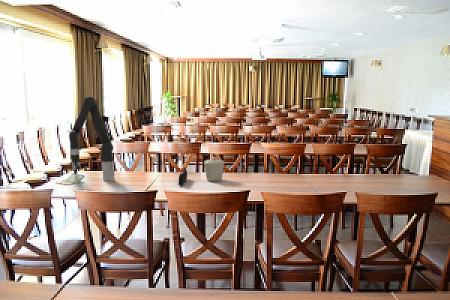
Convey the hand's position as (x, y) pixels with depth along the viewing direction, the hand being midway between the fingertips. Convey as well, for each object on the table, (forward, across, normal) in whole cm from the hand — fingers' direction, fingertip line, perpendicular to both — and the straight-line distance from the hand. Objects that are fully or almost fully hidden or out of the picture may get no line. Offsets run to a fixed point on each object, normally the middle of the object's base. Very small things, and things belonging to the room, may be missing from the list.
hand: (75, 173), depth 353 cm
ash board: (+7, -2, +12) cm, 14 cm away
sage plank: (+4, -2, +2) cm, 5 cm away
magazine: (+6, -80, -48) cm, 94 cm away
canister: (+6, -97, -71) cm, 120 cm away
